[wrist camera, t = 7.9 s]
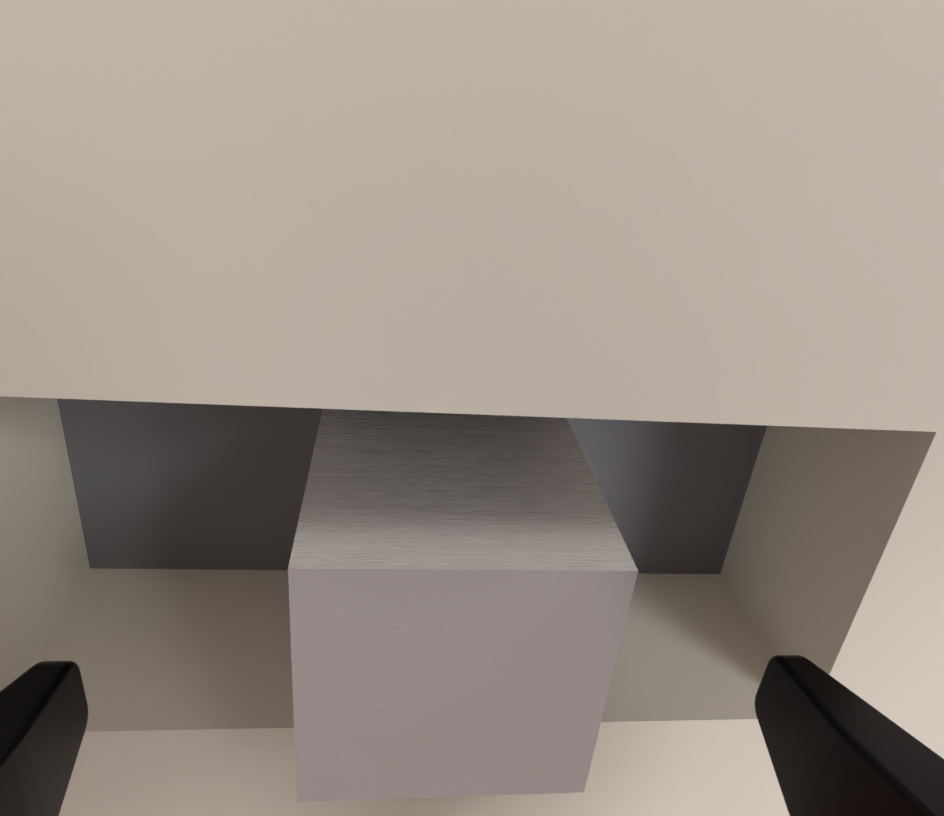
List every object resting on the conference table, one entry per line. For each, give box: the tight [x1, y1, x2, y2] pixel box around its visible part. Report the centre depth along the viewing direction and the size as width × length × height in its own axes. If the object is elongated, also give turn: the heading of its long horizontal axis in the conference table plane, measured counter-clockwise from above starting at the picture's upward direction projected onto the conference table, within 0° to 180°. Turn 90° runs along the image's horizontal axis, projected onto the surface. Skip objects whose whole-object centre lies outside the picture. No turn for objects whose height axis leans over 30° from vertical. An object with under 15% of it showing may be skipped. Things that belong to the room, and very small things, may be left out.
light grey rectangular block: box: [288, 409, 638, 802], centre depth 11 cm, size 4×4×6 cm
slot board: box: [0, 0, 944, 816], centre depth 12 cm, size 24×18×4 cm
